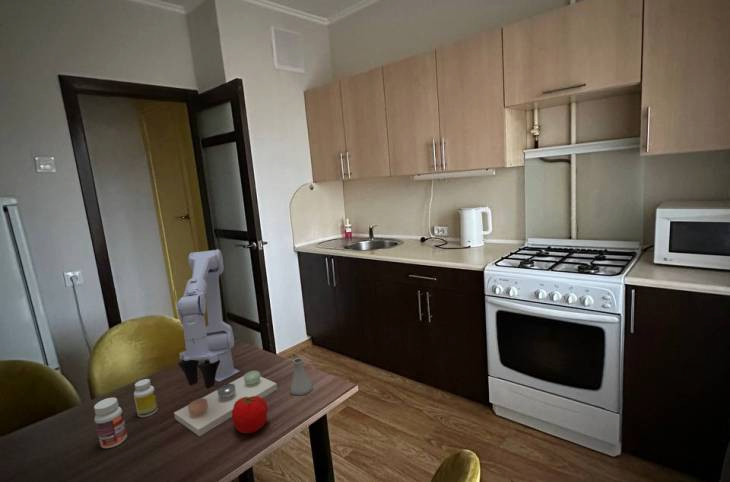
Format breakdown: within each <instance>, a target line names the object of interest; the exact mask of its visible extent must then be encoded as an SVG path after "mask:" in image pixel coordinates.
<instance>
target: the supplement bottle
mask: <svg viewBox="0 0 730 482" xmlns="http://www.w3.org/2000/svg"><path fill="white" fill-rule="evenodd" d="M151 383H152V382H151V380H150V378H145V379H140V380H138V381H136V382H135V384H134V388H135V389H134V393H133V398H134V399H133V400H134V403H135V408H136V413H137V416H138V417H140V418H146V417H149V416H152V415H154V414H155V413H157V411H158V409H159V405H158V401H157V396H156V390H155V387H154V386H153V385H151Z"/></svg>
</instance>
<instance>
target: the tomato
mask: <svg viewBox="0 0 730 482" xmlns="http://www.w3.org/2000/svg"><path fill="white" fill-rule="evenodd" d="M268 409H269V407H268V404H267V402H266V401H265V400H264V398H260V397H259V396H252V397H243V398H242V397H241V399H239V400H237V401H236V402H235V404H234V407H233V410H232V417H231V421H232V423H233V424H232V425H233V426H234V427H235V429H236V430H237V431H238V432H239V433H241V434H251V433H255V432H257V431H259V430H260V429H261V428H263V426H264V425H265V423H266V421H267V417H268V416H267V415H268Z"/></svg>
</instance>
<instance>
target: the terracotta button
mask: <svg viewBox="0 0 730 482" xmlns="http://www.w3.org/2000/svg"><path fill="white" fill-rule="evenodd" d="M187 406H188V409H189V413H190V414H193V415H195V414H199V413H202V412H204V411H205V410H206V409H207V408H208V403H207V400H206V399H204V398H203V397H201V398H197V399H195V400H193V401H191V402H189V404H188V405H187Z"/></svg>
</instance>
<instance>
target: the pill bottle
mask: <svg viewBox="0 0 730 482" xmlns="http://www.w3.org/2000/svg"><path fill="white" fill-rule="evenodd" d="M93 408H94V414H95V416H94V424H95V427H96V433H97V435H98V436H97V437H98V439H99V445H100V447H101V448H102V449H109V448H111V449H112V448H115V447H116V446H118V445H121V444H122V443H123V442H124V441H125V440H126V439H127V437H128V431H127V427H126V423H125V419H124V413H123V410H122V408H121V407H120V406H119V402H118V398H116V397H107V398H105V399H102V400H100V401H98V402H96V404H95V405H94V407H93Z"/></svg>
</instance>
